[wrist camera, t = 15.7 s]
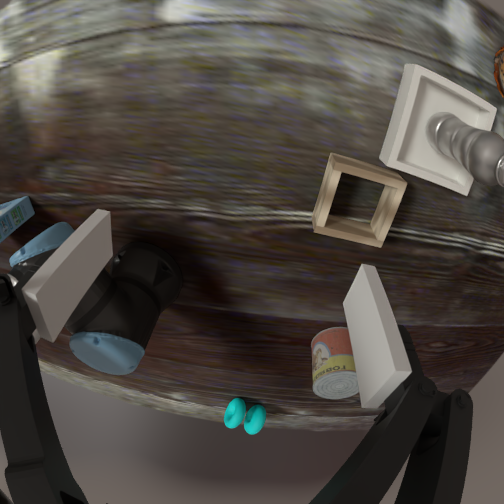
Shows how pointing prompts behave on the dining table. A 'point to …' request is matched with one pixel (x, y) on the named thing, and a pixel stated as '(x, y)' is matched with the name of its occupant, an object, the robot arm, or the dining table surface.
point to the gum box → (14, 215)
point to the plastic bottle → (468, 147)
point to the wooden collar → (350, 228)
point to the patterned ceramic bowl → (499, 70)
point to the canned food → (333, 364)
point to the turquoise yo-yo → (252, 419)
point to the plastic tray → (415, 120)
